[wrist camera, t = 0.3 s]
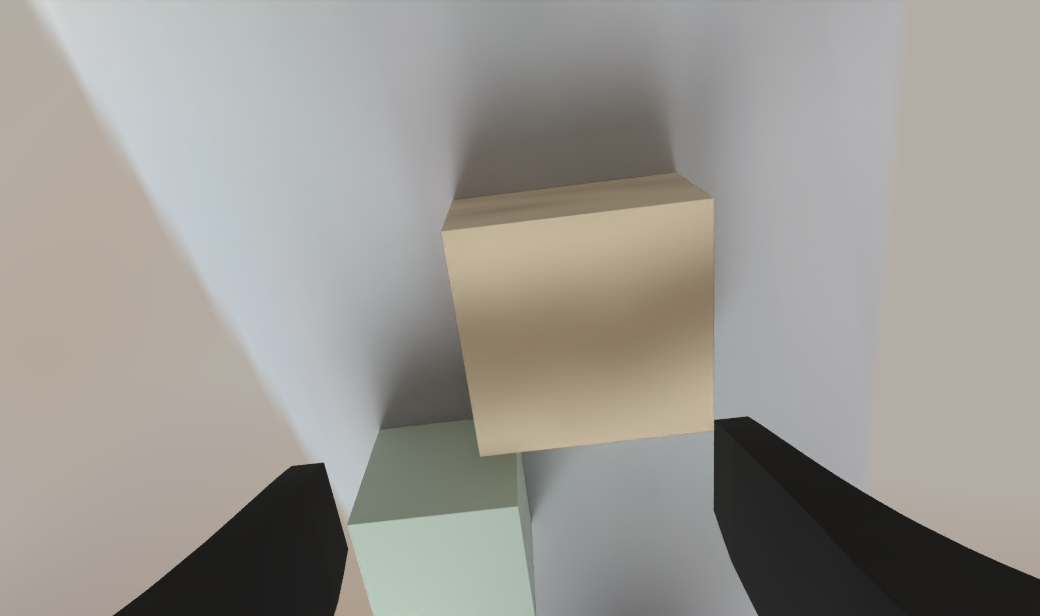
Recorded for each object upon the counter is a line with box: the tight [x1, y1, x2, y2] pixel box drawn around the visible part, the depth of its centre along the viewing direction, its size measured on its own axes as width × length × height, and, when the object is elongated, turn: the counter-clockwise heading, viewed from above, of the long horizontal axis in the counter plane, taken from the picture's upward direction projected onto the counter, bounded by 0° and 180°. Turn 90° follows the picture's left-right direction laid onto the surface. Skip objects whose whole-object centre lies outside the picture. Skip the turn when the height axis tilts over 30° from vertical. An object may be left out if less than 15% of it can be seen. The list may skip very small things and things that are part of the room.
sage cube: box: [347, 419, 536, 616], centre depth 21 cm, size 5×5×5 cm
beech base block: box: [441, 172, 714, 457], centre depth 19 cm, size 7×7×4 cm
